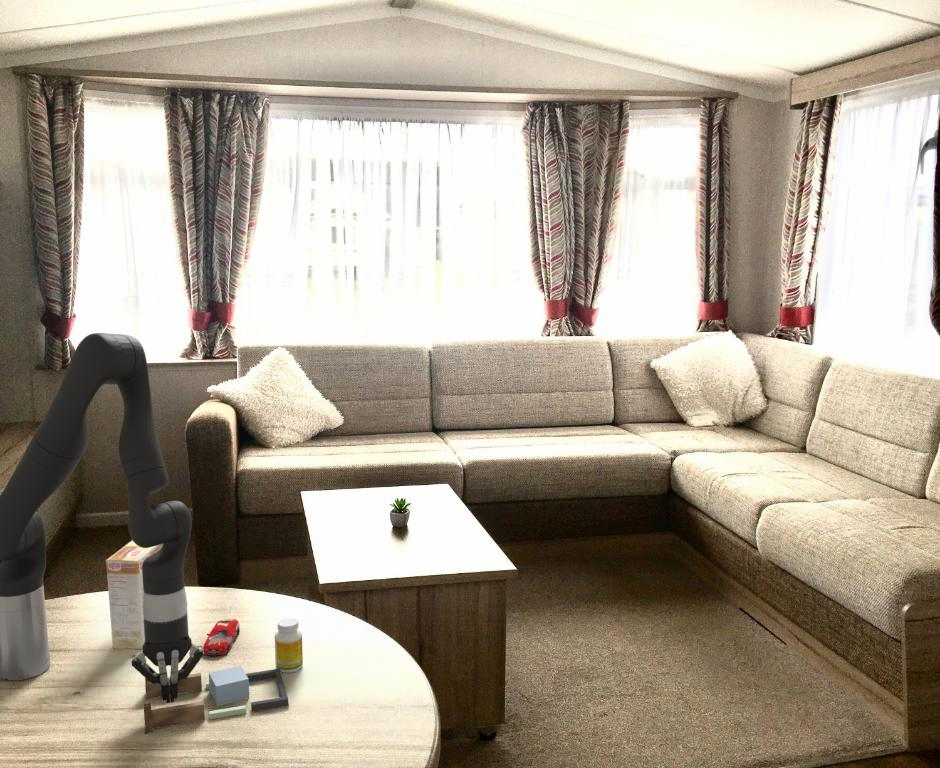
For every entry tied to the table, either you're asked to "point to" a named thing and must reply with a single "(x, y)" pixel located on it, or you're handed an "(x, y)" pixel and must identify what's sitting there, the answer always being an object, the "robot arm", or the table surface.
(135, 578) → the coffeecake box
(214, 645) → the race car
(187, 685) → the channel
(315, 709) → the table surface
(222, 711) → the rails
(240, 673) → the block
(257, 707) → the frame
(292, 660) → the supplement bottle
